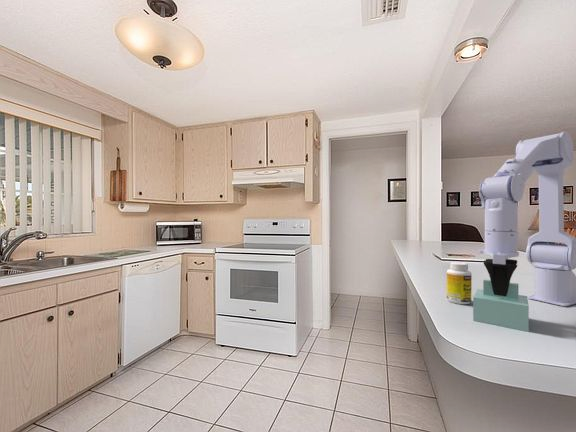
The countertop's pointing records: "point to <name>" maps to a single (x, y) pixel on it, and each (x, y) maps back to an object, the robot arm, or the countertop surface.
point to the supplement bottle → (459, 283)
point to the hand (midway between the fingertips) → (500, 293)
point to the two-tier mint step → (501, 307)
